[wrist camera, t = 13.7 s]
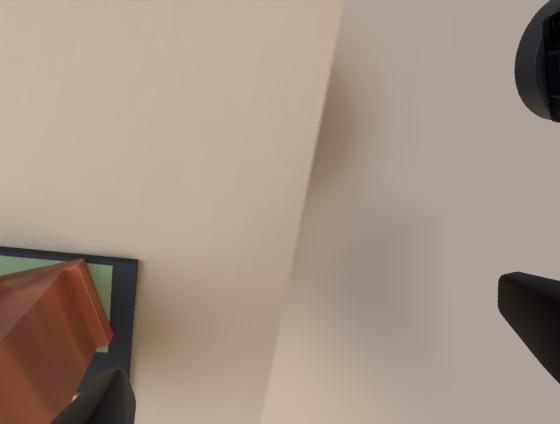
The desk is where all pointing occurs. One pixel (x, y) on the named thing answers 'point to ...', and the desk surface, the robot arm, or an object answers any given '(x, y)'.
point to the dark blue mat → (112, 292)
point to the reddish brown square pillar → (47, 339)
